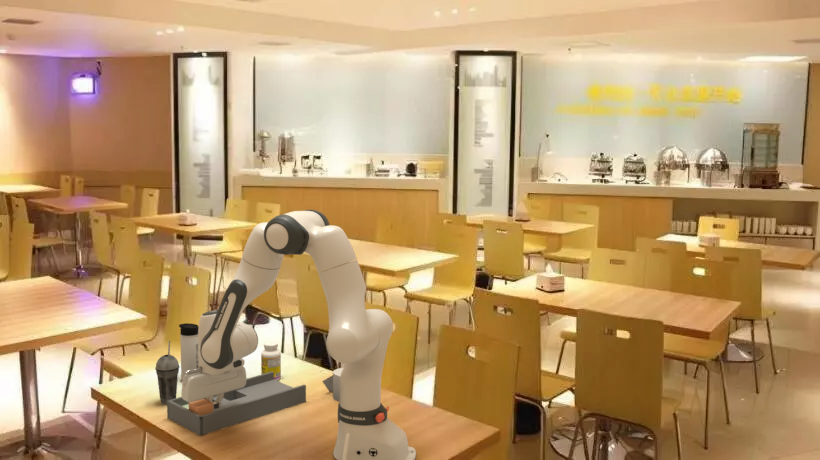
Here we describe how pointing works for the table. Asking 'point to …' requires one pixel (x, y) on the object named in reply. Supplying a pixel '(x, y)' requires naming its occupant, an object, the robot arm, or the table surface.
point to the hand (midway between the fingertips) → (214, 408)
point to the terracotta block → (201, 407)
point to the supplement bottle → (271, 360)
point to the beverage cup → (167, 376)
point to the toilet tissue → (334, 384)
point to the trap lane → (238, 405)
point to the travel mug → (189, 347)
